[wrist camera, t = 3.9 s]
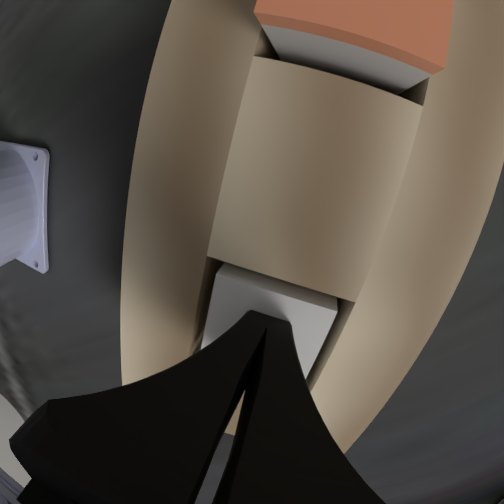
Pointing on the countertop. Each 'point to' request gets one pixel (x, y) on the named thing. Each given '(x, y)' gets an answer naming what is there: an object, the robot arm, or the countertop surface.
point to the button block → (308, 195)
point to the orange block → (362, 37)
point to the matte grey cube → (270, 308)
